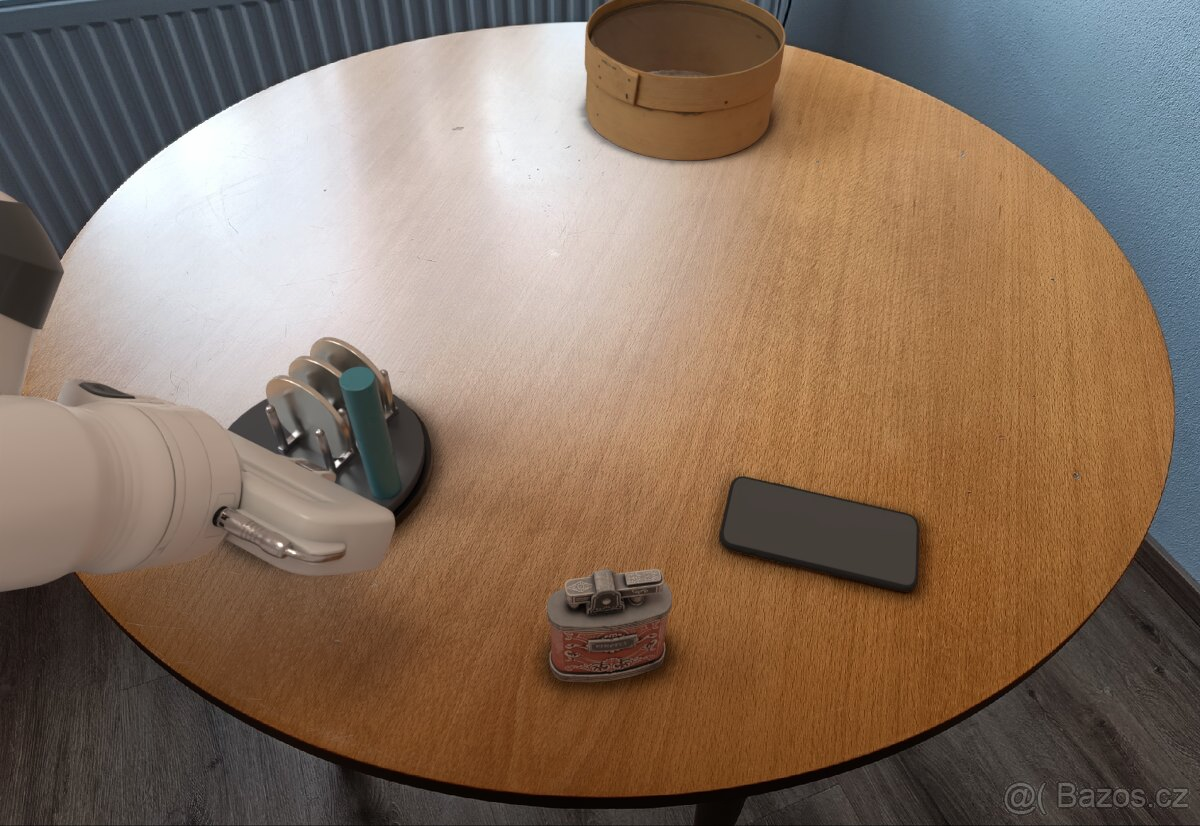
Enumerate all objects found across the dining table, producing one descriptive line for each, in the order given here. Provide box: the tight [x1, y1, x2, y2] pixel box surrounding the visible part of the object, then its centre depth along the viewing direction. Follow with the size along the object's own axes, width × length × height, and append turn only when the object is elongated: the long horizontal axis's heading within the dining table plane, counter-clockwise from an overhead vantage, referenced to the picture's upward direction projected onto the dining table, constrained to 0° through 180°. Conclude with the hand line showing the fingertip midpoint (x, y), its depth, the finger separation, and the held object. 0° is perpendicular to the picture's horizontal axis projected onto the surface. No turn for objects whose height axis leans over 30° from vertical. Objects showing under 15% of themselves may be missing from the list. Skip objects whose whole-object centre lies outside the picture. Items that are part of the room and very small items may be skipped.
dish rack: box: [226, 336, 425, 513], centre depth 66 cm, size 17×17×13 cm
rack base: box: [393, 408, 434, 528], centre depth 71 cm, size 18×18×1 cm
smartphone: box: [718, 475, 920, 593], centre depth 67 cm, size 7×1×15 cm
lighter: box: [546, 568, 673, 683], centre depth 56 cm, size 8×3×10 cm, turn 99°
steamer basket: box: [584, 0, 787, 161], centre depth 110 cm, size 25×25×11 cm
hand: (317, 477), depth 60 cm, fingers closed
